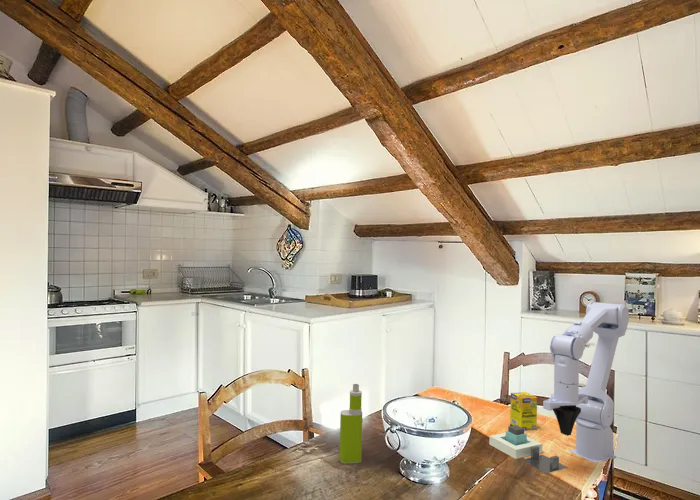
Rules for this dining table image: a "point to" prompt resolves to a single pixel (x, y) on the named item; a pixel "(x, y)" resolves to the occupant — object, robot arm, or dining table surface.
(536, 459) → the grey socket plate
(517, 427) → the plug
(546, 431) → the dining table surface
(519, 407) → the supplement box
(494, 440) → the port
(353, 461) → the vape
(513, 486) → the dining table surface
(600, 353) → the robot arm
